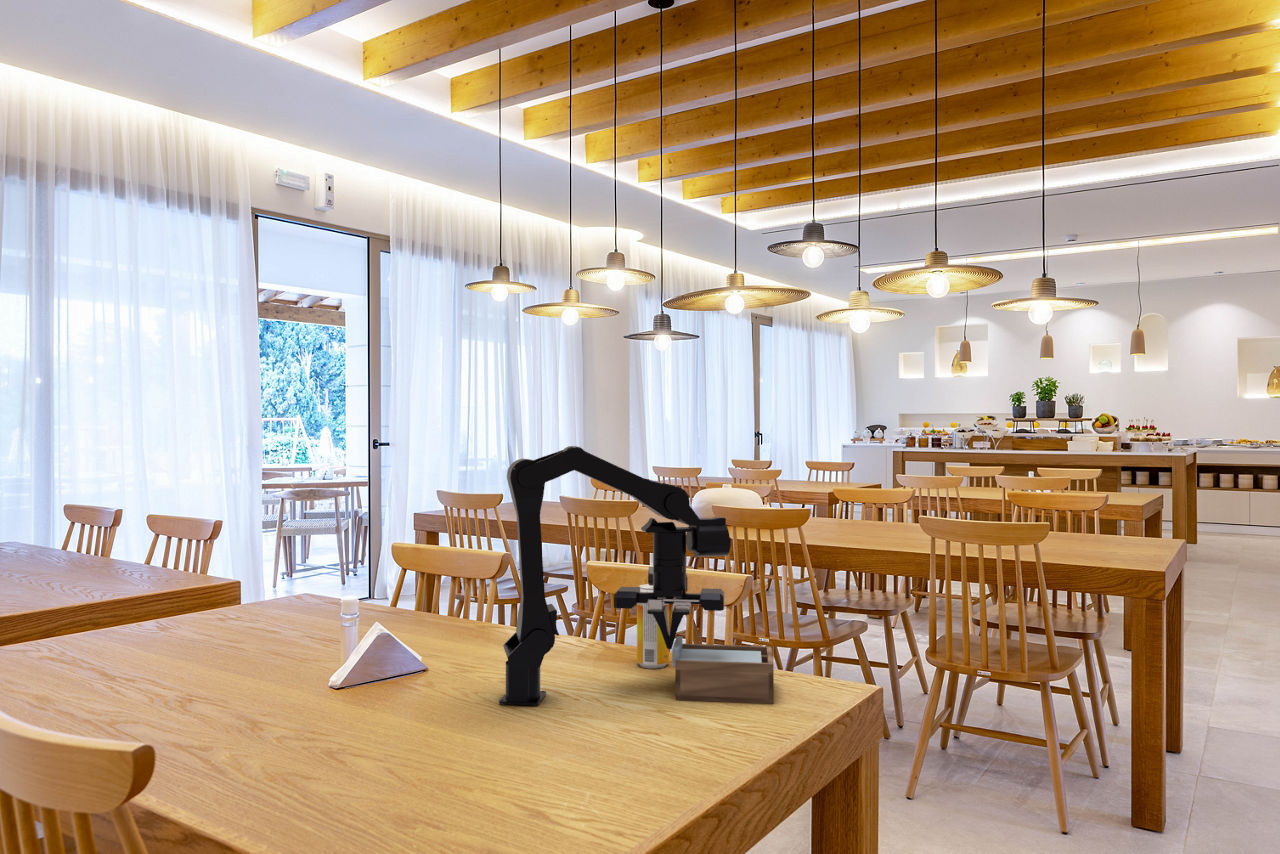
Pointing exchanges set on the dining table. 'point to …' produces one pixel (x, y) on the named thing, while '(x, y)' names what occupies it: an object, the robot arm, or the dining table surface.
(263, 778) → the dining table surface
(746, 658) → the lid
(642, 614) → the beer can
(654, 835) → the dining table surface
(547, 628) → the robot arm
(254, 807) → the dining table surface
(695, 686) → the walnut box
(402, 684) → the dining table surface
